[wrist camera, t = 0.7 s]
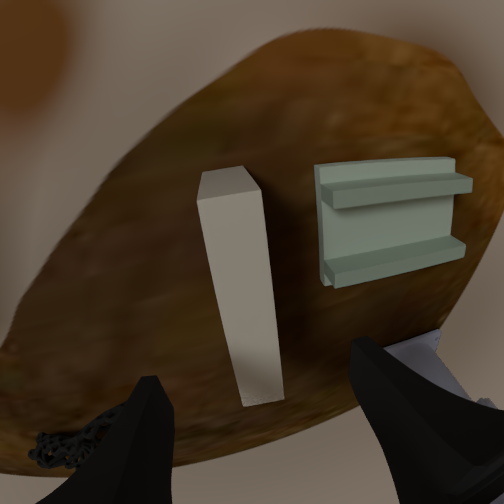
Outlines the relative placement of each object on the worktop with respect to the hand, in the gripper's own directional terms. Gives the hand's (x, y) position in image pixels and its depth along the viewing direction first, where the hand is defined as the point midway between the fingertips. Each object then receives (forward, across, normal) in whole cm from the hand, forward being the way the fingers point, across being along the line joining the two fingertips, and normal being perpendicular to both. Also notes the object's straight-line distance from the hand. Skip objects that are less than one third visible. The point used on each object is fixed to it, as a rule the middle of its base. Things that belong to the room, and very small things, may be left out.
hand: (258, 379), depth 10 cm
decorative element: (+11, +22, +18) cm, 30 cm away
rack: (+10, -11, -1) cm, 15 cm away
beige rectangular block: (+10, 0, 0) cm, 11 cm away
